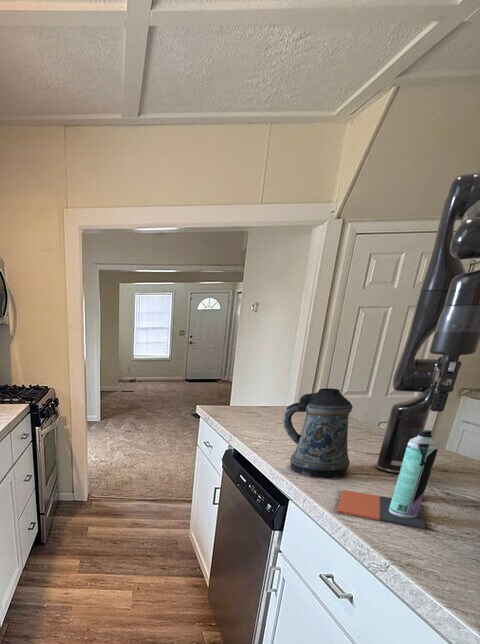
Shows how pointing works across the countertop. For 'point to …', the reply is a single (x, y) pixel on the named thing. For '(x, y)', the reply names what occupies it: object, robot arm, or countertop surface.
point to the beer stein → (320, 434)
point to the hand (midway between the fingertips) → (434, 408)
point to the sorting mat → (375, 509)
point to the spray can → (414, 475)
